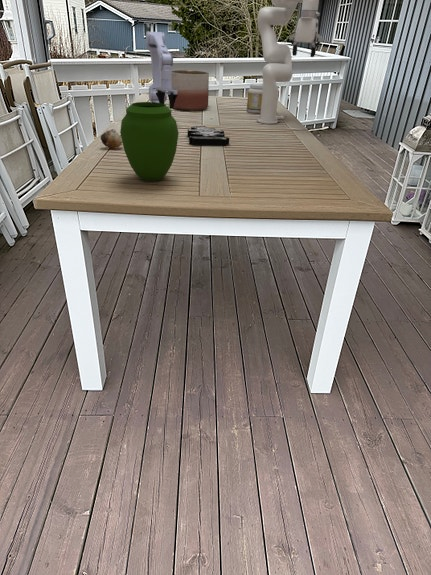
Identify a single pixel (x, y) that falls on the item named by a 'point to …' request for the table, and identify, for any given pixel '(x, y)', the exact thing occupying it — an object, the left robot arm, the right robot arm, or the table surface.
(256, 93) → the supplement tub
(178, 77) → the planter
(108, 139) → the seashell
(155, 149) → the vase
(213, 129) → the sign
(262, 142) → the table surface
